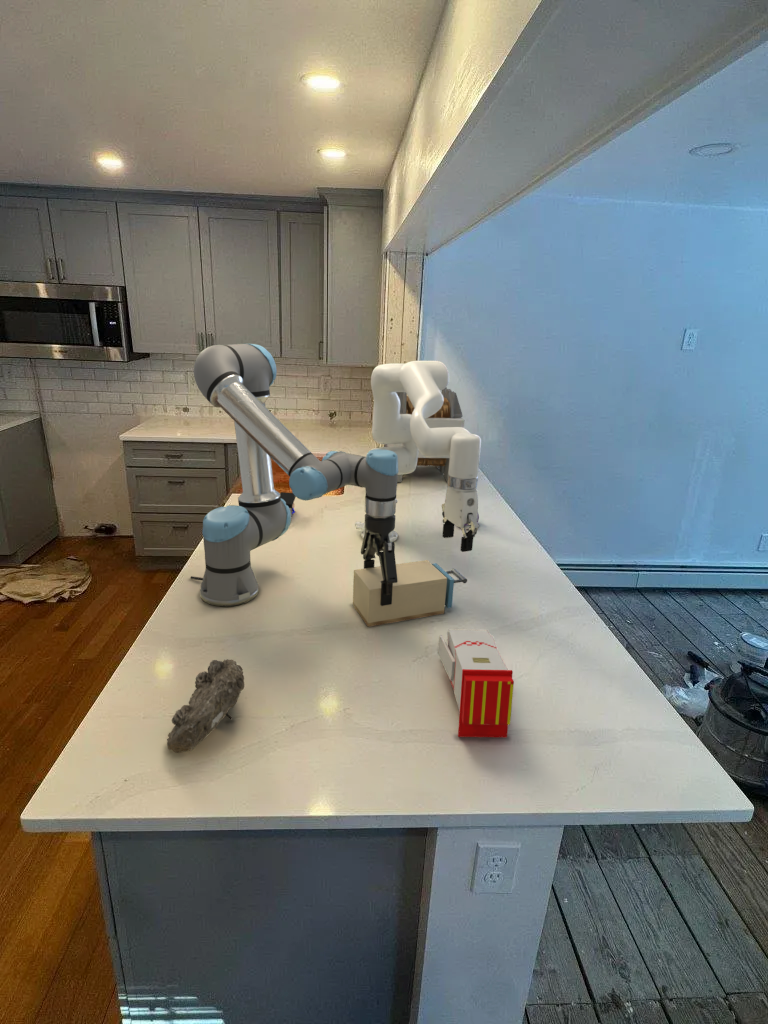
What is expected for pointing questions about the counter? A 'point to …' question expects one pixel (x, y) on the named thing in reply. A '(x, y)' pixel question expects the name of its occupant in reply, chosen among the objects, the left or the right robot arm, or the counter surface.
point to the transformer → (435, 426)
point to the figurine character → (289, 500)
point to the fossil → (206, 705)
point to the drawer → (450, 583)
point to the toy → (478, 682)
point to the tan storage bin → (400, 593)
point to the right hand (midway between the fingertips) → (456, 543)
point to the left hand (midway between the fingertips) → (376, 593)
